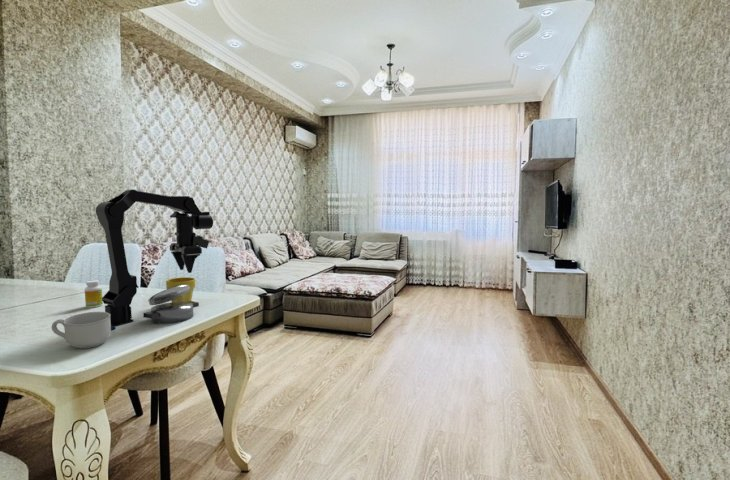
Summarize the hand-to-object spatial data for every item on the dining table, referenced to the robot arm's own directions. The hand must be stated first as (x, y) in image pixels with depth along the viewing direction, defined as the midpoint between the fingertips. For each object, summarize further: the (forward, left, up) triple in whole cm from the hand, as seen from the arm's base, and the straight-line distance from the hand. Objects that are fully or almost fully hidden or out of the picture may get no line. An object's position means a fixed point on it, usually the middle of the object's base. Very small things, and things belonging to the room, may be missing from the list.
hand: (185, 271), depth 148 cm
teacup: (-40, -9, -14) cm, 44 cm away
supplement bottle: (-16, +33, -14) cm, 39 cm away
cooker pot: (-12, -8, -14) cm, 20 cm away
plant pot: (+2, +6, -14) cm, 15 cm away
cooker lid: (-12, -7, -6) cm, 15 cm away
